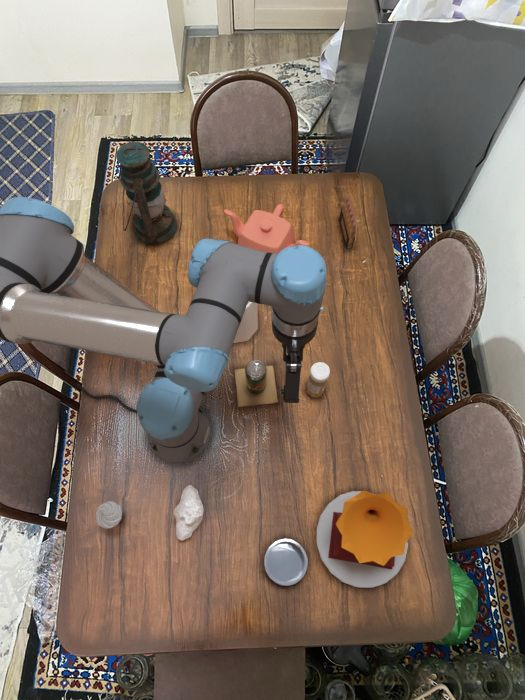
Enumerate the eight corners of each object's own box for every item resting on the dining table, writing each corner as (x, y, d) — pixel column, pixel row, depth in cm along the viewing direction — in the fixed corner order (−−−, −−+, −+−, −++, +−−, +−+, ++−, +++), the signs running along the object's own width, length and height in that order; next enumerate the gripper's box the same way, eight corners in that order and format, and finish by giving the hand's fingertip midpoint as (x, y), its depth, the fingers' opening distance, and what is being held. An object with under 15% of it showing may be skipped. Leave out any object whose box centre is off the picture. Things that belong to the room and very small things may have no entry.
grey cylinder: (263, 583, 114) (263, 584, 108) (265, 539, 118) (265, 537, 112) (304, 586, 114) (307, 586, 108) (305, 541, 117) (308, 540, 112)
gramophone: (321, 484, 122) (335, 465, 99) (408, 500, 121) (443, 483, 98) (309, 578, 114) (321, 580, 91) (402, 596, 113) (439, 602, 90)
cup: (211, 338, 137) (204, 306, 120) (222, 302, 141) (217, 265, 124) (252, 348, 136) (251, 316, 119) (262, 311, 140) (262, 275, 123)
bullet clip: (338, 219, 152) (344, 191, 141) (344, 218, 152) (351, 190, 141) (345, 249, 148) (352, 223, 137) (352, 248, 148) (359, 223, 137)
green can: (269, 382, 132) (270, 365, 121) (259, 398, 130) (259, 382, 119) (252, 372, 133) (252, 355, 122) (242, 389, 131) (240, 372, 120)
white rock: (188, 542, 119) (214, 544, 111) (158, 538, 115) (184, 539, 107) (196, 489, 124) (222, 487, 115) (168, 483, 120) (193, 480, 111)
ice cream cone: (120, 501, 121) (102, 492, 107) (138, 517, 119) (122, 510, 105) (103, 520, 119) (82, 514, 105) (120, 537, 118) (102, 533, 104)
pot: (242, 284, 143) (241, 260, 132) (226, 234, 150) (223, 206, 138) (306, 268, 146) (310, 242, 134) (287, 219, 152) (289, 190, 141)
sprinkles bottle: (327, 391, 131) (334, 373, 119) (312, 401, 130) (318, 383, 118) (316, 377, 133) (322, 357, 120) (302, 386, 132) (306, 367, 119)
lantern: (179, 253, 147) (160, 180, 120) (128, 257, 147) (97, 185, 119) (175, 198, 155) (157, 117, 127) (127, 202, 154) (98, 122, 127)
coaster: (238, 407, 130) (238, 406, 129) (234, 370, 134) (234, 369, 133) (277, 402, 130) (277, 402, 130) (272, 365, 134) (272, 365, 134)
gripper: (319, 391, 78) (309, 427, 98) (317, 252, 88) (309, 310, 107) (269, 390, 78) (269, 426, 98) (273, 251, 88) (272, 309, 108)
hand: (290, 365), depth 103 cm, fingers open, 13 cm apart
